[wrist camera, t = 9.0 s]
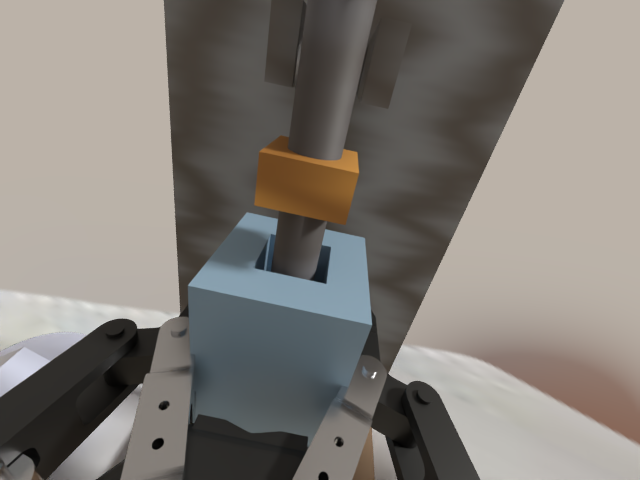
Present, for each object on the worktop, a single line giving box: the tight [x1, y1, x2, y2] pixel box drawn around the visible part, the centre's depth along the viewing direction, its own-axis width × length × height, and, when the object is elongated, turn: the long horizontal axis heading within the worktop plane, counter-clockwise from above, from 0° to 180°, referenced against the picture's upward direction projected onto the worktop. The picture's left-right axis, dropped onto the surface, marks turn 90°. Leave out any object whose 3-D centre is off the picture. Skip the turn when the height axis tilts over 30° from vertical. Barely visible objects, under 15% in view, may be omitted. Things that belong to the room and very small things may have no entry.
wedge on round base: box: [0, 332, 87, 397], centre depth 22 cm, size 9×7×13 cm
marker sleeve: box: [188, 212, 372, 447], centre depth 12 cm, size 5×5×8 cm
